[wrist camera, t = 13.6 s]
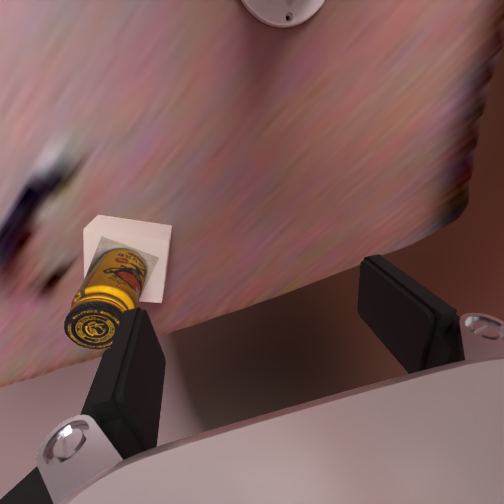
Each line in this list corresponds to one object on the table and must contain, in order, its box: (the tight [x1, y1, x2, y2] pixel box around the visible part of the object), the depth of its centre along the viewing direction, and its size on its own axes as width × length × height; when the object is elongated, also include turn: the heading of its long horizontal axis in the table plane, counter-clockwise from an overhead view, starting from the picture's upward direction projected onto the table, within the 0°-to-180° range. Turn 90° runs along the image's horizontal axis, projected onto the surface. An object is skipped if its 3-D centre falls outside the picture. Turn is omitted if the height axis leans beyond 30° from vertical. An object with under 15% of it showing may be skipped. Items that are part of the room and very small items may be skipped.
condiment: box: [64, 236, 159, 349], centre depth 30 cm, size 7×8×12 cm
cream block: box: [83, 215, 172, 303], centre depth 38 cm, size 10×10×6 cm
